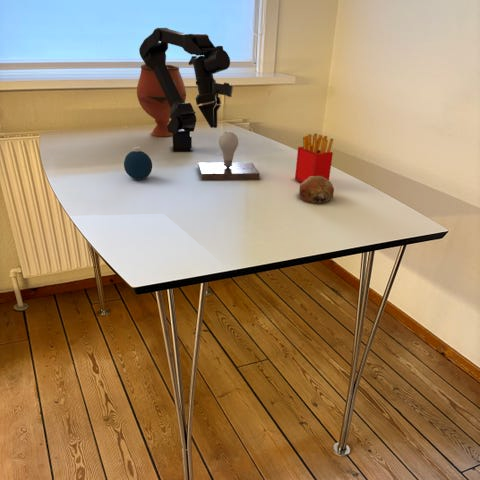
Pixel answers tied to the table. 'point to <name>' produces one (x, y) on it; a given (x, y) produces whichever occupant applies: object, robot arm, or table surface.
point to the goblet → (158, 97)
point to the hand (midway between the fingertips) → (214, 127)
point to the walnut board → (228, 171)
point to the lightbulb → (228, 147)
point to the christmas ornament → (138, 164)
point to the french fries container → (313, 158)
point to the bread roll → (316, 190)
